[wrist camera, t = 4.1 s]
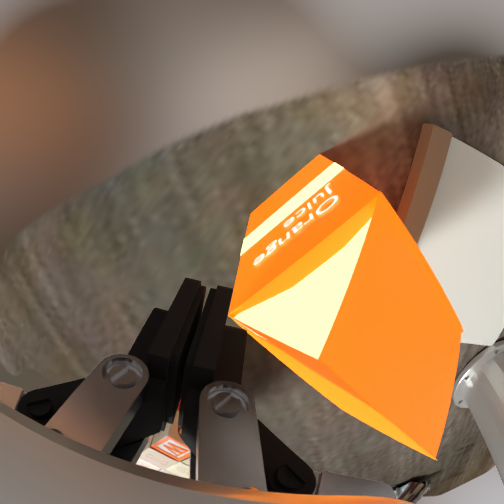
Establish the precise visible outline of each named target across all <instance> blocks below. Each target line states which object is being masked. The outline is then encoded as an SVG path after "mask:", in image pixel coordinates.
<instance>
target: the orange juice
mask: <svg viewBox="0 0 504 504" xmlns="http://www.w3.org/2000/svg"><path fill="white" fill-rule="evenodd" d="M240 255H241V259H240V263H239V268H238V272H237V277H236V281H235V286H234V291H233V295H232V300H231V304H230V309H229V315H230V316H229V315H228V316H229V317H230V318H232V319H233V320H234V321H235V322H236V323H237V324H238V325H239V326H241V327H242V328H243V329H245V330H247V333H249V334H250V335H251V336H252V337H253V338H254V339H256V340H257V341H258V342H259V343H260V344H261V345H263V346H264V347H265V348H266V349H267V350H269V351H270V352H271V353H272V354H273V355H274V356H276V357H277V358H278V359H279V360H280V361H282V362H283V363H284V364H285V365H286V366H288V367H289V368H290V369H291V370H293V371H294V372H295V373H296V374H297V375H299V376H300V377H301V378H302V379H304V380H305V381H306V382H307V383H309V384H310V385H311V386H312V387H314V388H315V389H316V390H317V391H319V392H320V393H321V394H322V395H324V396H325V397H326V398H328V399H329V400H330V401H331V402H333V403H334V404H335V405H337V406H338V407H339V408H341V409H342V410H344V411H345V412H347V413H349V414H350V415H352V416H354V417H356V418H357V419H359V420H361V421H363V422H364V423H366V424H368V425H370V426H372V427H373V428H375V429H377V430H379V431H381V432H382V433H384V434H386V435H388V436H390V437H392V438H394V439H395V440H397V441H399V442H401V443H403V444H405V445H407V446H409V447H411V448H413V449H415V450H417V451H419V452H421V453H423V454H425V455H427V456H429V457H431V458H433V459H434V460H436V459H435V457H436V454H437V451H438V448H439V444H440V441H441V437H442V434H443V430H444V426H445V422H446V418H447V414H448V410H449V406H450V401H451V396H452V391H453V386H454V381H455V375H456V369H457V363H458V356H459V349H460V341H461V333H462V332H463V329H462V325H461V323H460V321H459V319H458V317H457V315H456V313H455V311H454V309H453V307H452V305H451V303H450V301H449V299H448V298H447V296H446V294H445V292H444V290H443V288H442V287H441V285H440V283H439V281H438V279H437V278H436V276H435V274H434V272H433V271H432V269H431V267H430V266H429V264H428V262H427V261H426V259H425V257H424V256H423V254H422V252H421V251H420V249H419V247H418V246H417V244H416V243H415V241H414V239H413V238H412V236H411V235H410V233H409V232H408V230H407V229H406V227H405V226H404V224H403V222H402V221H401V219H400V218H399V217H398V215H397V214H396V212H395V211H394V209H393V208H392V206H391V205H390V203H389V202H388V201H387V199H386V198H385V196H384V195H383V194H382V192H381V191H380V192H379V191H377V190H376V189H374V188H373V187H371V186H370V185H368V184H367V183H365V182H364V181H362V180H361V179H359V178H358V177H356V176H354V175H353V174H351V173H350V172H348V171H347V170H345V169H344V168H343V167H342V166H340V165H338V164H337V163H335V162H332V161H330V160H329V159H327V158H325V157H324V156H322V155H320V154H319V155H318V156H317V157H316V158H314V159H313V160H312V161H311V162H310V163H308V164H307V165H306V166H305V167H304V168H303V169H301V170H300V171H299V172H298V173H297V174H296V175H294V176H293V177H292V178H291V179H290V180H289V181H287V182H286V183H285V184H284V185H283V186H282V187H280V188H279V189H278V190H277V191H276V192H275V193H274V194H272V195H271V196H270V197H269V198H268V199H267V200H266V201H264V202H263V203H262V204H261V205H260V206H259V207H258V208H256V209H255V210H254V211H253V212H252V213H251V214H250V218H249V223H248V227H247V232H246V236H245V239H244V241H243V245H242V250H241V254H240Z"/></svg>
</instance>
